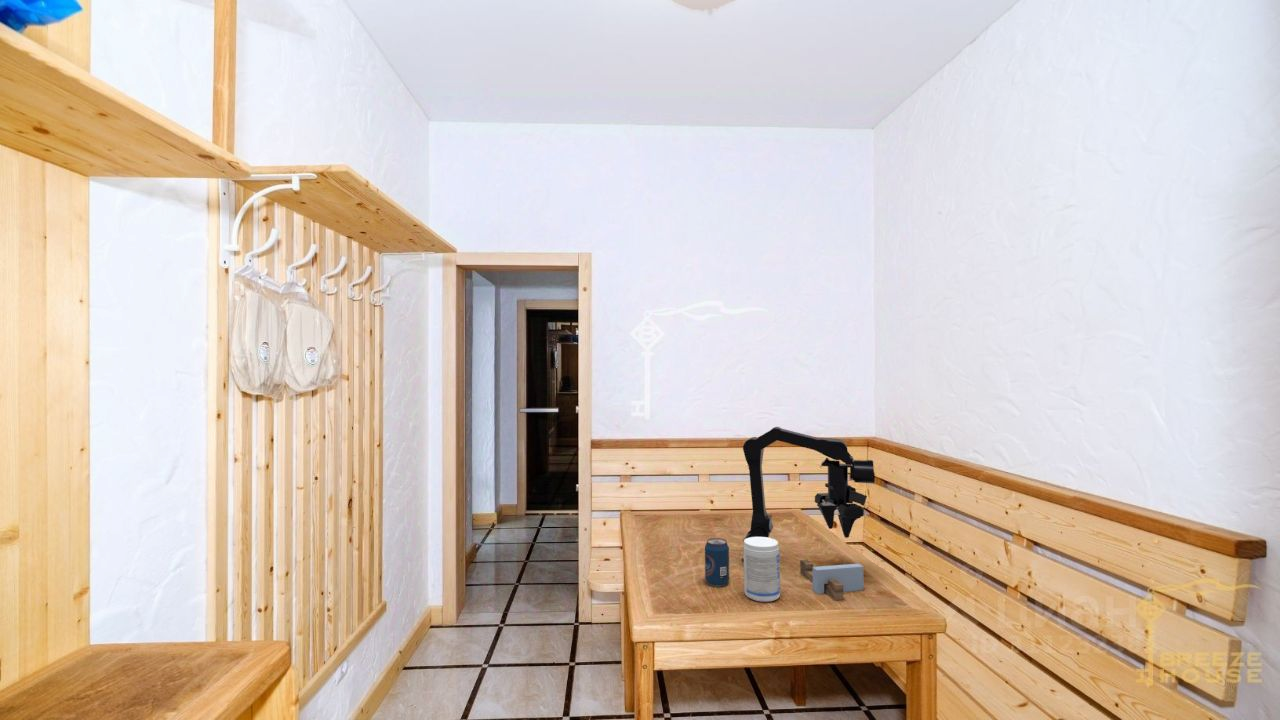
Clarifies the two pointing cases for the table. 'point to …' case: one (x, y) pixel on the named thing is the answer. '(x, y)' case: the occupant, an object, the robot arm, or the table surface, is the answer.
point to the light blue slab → (839, 577)
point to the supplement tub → (761, 569)
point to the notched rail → (831, 588)
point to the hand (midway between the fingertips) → (838, 533)
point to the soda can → (717, 562)
